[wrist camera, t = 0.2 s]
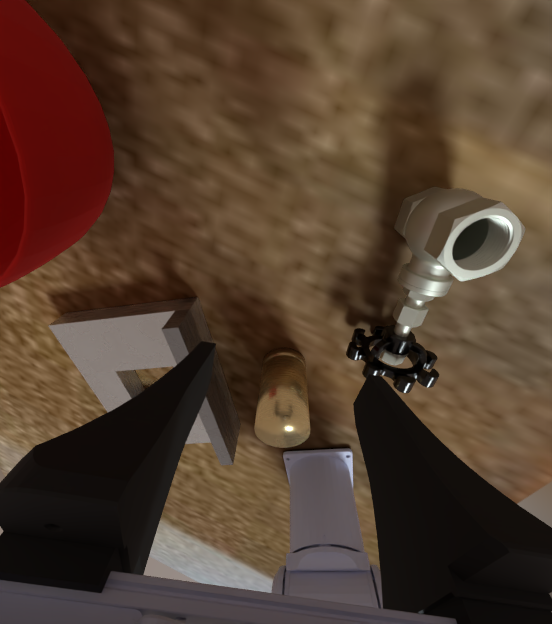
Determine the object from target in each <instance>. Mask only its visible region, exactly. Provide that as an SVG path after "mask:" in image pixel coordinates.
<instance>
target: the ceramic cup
mask: <svg viewBox="0 0 552 624" xmlns="http://www.w3.org/2000/svg"><path fill="white" fill-rule="evenodd" d="M113 175H114V150H113V145H112V140H111V135H110V129H109V127H108V124H107V121H106V118H105V115H104V112H103V110H102V107H101V104H100V102H99V100H98V98H97V97H96V95H95V93H94V91H93V89H92V87H91V85H90V83H89V81H88V79H87V77H86V75H85V74H84V72H83V71H82V70H81V68H80V67H79V65H78V64H77V62H76V61H75V59H74V58H73V56H72V55H71V54H70V52H69V51H68V49H67V48H66V46H65V45H64V43H63V42H62V41H61V40H60V38H59V37H58V36H57V35H56V33H55V32H54V31H53V30H52V29H51V28H50V27H49V26H48V25H47V23H46V22H45V21H44V20H43V19H42V18H41V17H40V16H39V15H38V14H37V12H36V11H35V10H34V9H33V8H32V7H31V6H30V5H29V4H28V3H27V2H26V0H0V288H1V287H3V286H5V285H7V284H9V283H11V282H13V281H15V280H17V279H19V278H21V277H23V276H25V275H26V274H28V273H30V272H32V271H34V270H35V269H37V268H39V267H40V266H42V265H44V264H45V263H47V262H48V261H50V260H52V259H53V258H54V257H56V256H57V255H59V254H60V253H62V252H63V251H64V250H66V249H67V248H69V247H70V246H72V245H73V244H74V243H76V242H77V241H78V240H79V239H80V238H82V237H83V236H84V235H85V234H86V232H87V231H88V230H89V229H90V228H91V226H92V225H93V224H94V222H95V221H96V220H97V219H98V217H99V216H100V214H101V213H102V211H103V209H104V206H105V204H106V202H107V199H108V197H109V194H110V192H111V187H112V181H113Z"/></svg>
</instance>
